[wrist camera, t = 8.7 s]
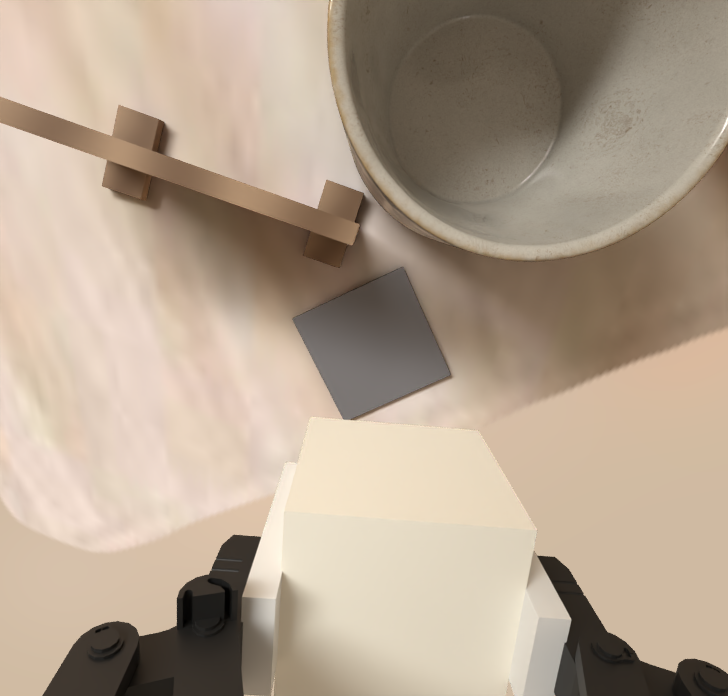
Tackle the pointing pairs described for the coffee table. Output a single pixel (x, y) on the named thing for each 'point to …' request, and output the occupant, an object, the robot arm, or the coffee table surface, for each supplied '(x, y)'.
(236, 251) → the coffee table surface
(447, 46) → the planter
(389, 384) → the mat
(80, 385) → the coffee table surface
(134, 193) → the walnut screen
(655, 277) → the coffee table surface
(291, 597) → the cream cube
